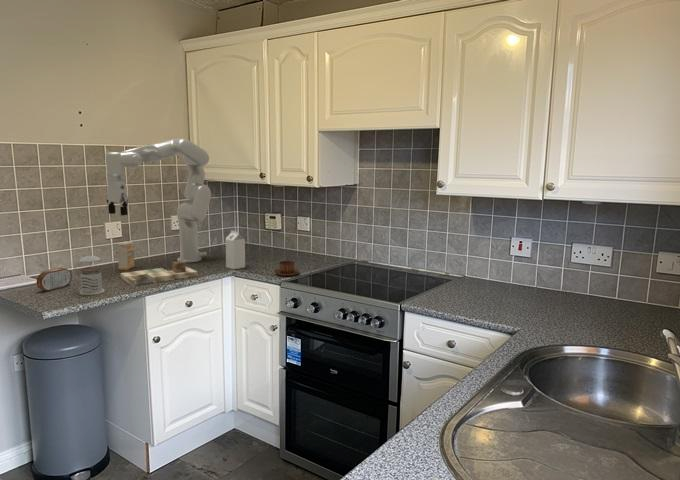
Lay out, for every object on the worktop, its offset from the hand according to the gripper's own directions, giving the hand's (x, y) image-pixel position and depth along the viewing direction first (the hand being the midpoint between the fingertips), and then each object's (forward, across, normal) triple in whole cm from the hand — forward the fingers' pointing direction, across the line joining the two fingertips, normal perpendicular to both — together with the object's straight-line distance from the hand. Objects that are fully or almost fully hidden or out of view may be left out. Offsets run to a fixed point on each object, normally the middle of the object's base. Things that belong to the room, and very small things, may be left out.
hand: (118, 214), depth 240 cm
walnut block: (+26, -30, -11) cm, 41 cm away
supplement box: (+29, +5, -6) cm, 30 cm away
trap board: (+28, -24, -4) cm, 37 cm away
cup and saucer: (+29, -66, -46) cm, 86 cm away
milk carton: (+29, -36, -41) cm, 62 cm away
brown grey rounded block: (+28, -6, +34) cm, 45 cm away
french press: (+28, -22, +29) cm, 46 cm away
